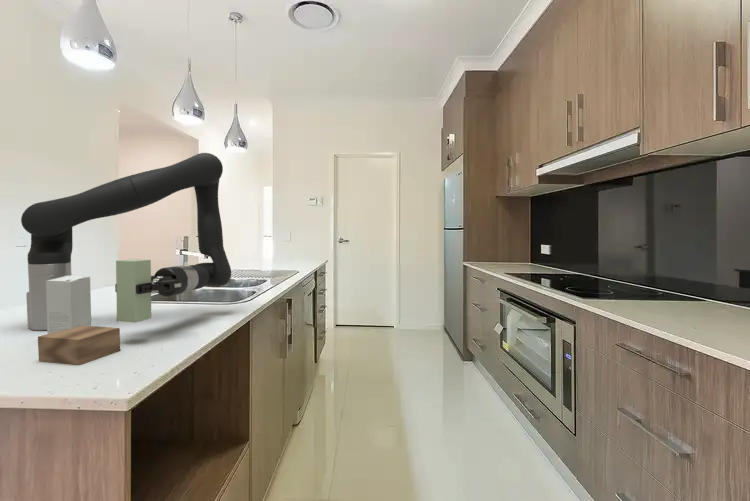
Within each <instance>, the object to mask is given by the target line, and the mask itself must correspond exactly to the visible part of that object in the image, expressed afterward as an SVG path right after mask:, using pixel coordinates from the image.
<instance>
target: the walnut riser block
mask: <svg viewBox="0 0 750 501" xmlns="http://www.w3.org/2000/svg"><path fill="white" fill-rule="evenodd" d="M37 347H38V348H37V349H38V350H37V351H38V354H37V355H38V362H44V363H54V364H55V363H57V364H64V365H65V364H66V365H76V366H80V365H83V364H85V363H89V362H91V361H94V360H97V359H99V358H103V357H106V356H109V355H112V354H114V353H116V352H120V351H121V333H120V327H112V326H111V327H109V326H108V327H107V326H99V325H98V326H95V325H91V326H83V325H82V326H78V327H74V328H70V329H66V330H62V331H58V332H54V333H50V334H43V335H38V336H37Z"/></svg>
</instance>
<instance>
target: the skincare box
mask: <svg viewBox="0 0 750 501" xmlns="http://www.w3.org/2000/svg"><path fill="white" fill-rule="evenodd" d="M91 296H92V295H91V276H90V275H72V276H63V277H60V278H56V279H52V280H47V281H46V298H47V330H46V332H47V334H50V333H54V332H58V331H62V330H66V329H70V328H74V327H78V326H82V325H83V326H92V300H91V299H92V297H91Z"/></svg>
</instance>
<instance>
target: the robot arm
mask: <svg viewBox="0 0 750 501" xmlns="http://www.w3.org/2000/svg"><path fill="white" fill-rule="evenodd" d="M222 175H223V163H222V161H221V159H220V158H218V156H216V155H214V154H213V153H210V152H209V153H208V152H200V153H198V154H195V155H192V156H191V157H188V158H186V159H184V160H181V161H178V162H176V163H173V164H171V165H168V166H164V167H159V168H155V169H150V170H146V171H142V172H138V173H133V174H131V175H127V176H124V177H121V178H118V179H114V180H112V181H108V182H105V183H102V184H99V185H97V186H94V187H93V188H90V189H87V190H85V191H83V192H80V193H76V194H73V195H70V196H65V197H60V198H57V199H56V198H55V199H50V200H46V201H40V202H39V201H38V202H36V203H33V204H31V205H30V206H28V207H27V208H25V210H24V211H23V213H22V215H21V218H20V220H21V221H20V222H21V223H20V224H21V226H22V228H23V229H24V230H25V231H26V232H27V233H28V234H30V248H29V251H28V253H27V273H28V274H27V275H28V291H27V292H26V316H27V317H26V319H27V328H28V329H30V330H32V331H47V298H46V281H47V280H52V279H56V278H60V277H63V276H73V274H72V253H73V245H74V244H73V227H75V226H78V225H80V224H81V225H82V224H83V223H85V222H88V221H91V220H96V219H101V218H107V217H113V216H117V215H121V214H125V213H129V212H132V211H135V210H138V209H141V208H144V207H147V206H151V205H152V204H155V203H157V202H160V201H161V200H163V199H165V198H167V197H169V196H171V195H173V194H175V193H177V192H180V191H182V190H185V189H191V188H194V192H195V198H196V209H197V214H196V215H197V240H198V241H197V242H198V252H199V253H200V254H201V255H204V256H208V257H210V258H211V261H212V262H200V263H196V264H192V265H191V264H190V265H175V266H168V267H167V266H166V267H162V268H160V269H158V270H157V271H156V272H155V273H154V275H153V274H151V282H150V283H144V284H138V285H136V294H143V293H149V292H151V294H154V293H155V294H159V295H160V296H162V297H172V296H176V295H177V296H178V295H181V294H186V293H188V292H191V291H194V290H199V289H201V288H204V287H206V286H207V287H208V286H224V285H227V284H228V283H229V282H230V280H231V278H232V268H231V265H230V263H229V259H228V257H227V253H226V251H225V248H224V237H223V235H224V234H223V225H222V220H221V213H220V206H219V185H220V179H221V177H222ZM114 287H115V288H114V291H115V293H116V284H115V286H114Z"/></svg>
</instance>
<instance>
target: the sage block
mask: <svg viewBox="0 0 750 501" xmlns="http://www.w3.org/2000/svg"><path fill="white" fill-rule="evenodd" d="M151 263H152V261H151V259H140V258H138V259H137V258H136V259H134V258H129V259H120V260H119V259H118V260H115V280H116V281H115V282H116V283H115V285H116V292H115V293H116V322H124V323H139V322H142V321H145V320H149V319H152V293H151V292H149V293H143V294H136V285H138V284H144V283H150V282H151V276H152V264H151Z"/></svg>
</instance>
